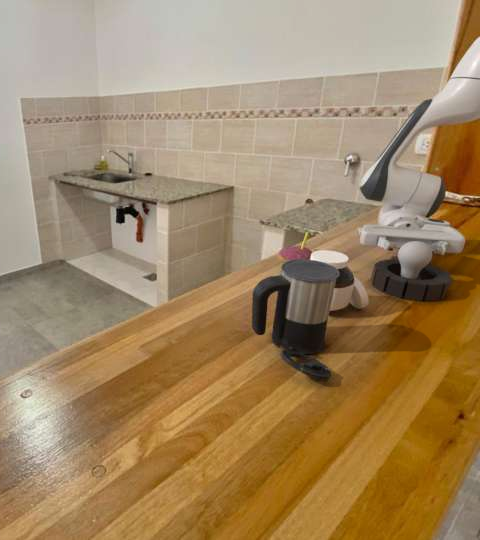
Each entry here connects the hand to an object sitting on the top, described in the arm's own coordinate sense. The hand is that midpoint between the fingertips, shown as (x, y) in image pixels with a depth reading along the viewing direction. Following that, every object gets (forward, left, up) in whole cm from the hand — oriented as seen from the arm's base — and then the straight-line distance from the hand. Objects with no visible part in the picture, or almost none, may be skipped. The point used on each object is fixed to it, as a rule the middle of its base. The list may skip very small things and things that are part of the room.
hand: (414, 249), depth 86 cm
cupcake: (+24, +2, -9) cm, 26 cm away
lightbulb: (0, +2, -9) cm, 9 cm away
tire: (0, +2, -8) cm, 9 cm away
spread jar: (+16, +17, -9) cm, 25 cm away
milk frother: (+21, +37, -9) cm, 43 cm away
